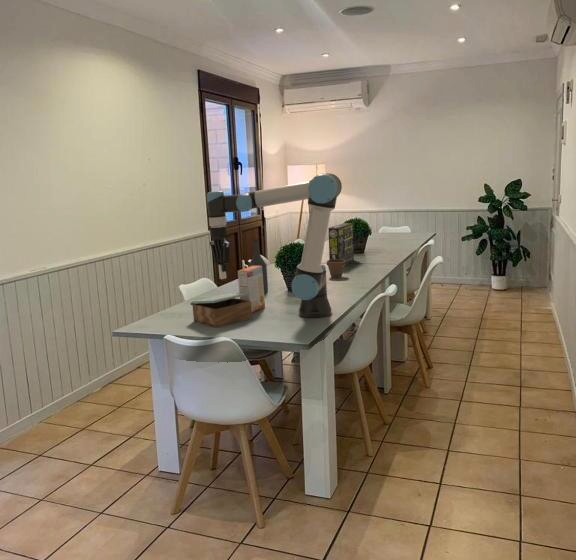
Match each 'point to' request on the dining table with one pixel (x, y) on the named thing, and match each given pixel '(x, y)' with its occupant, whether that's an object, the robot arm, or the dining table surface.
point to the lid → (221, 298)
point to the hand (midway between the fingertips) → (223, 278)
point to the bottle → (259, 264)
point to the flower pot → (336, 267)
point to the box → (341, 242)
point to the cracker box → (252, 286)
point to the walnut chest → (222, 312)
